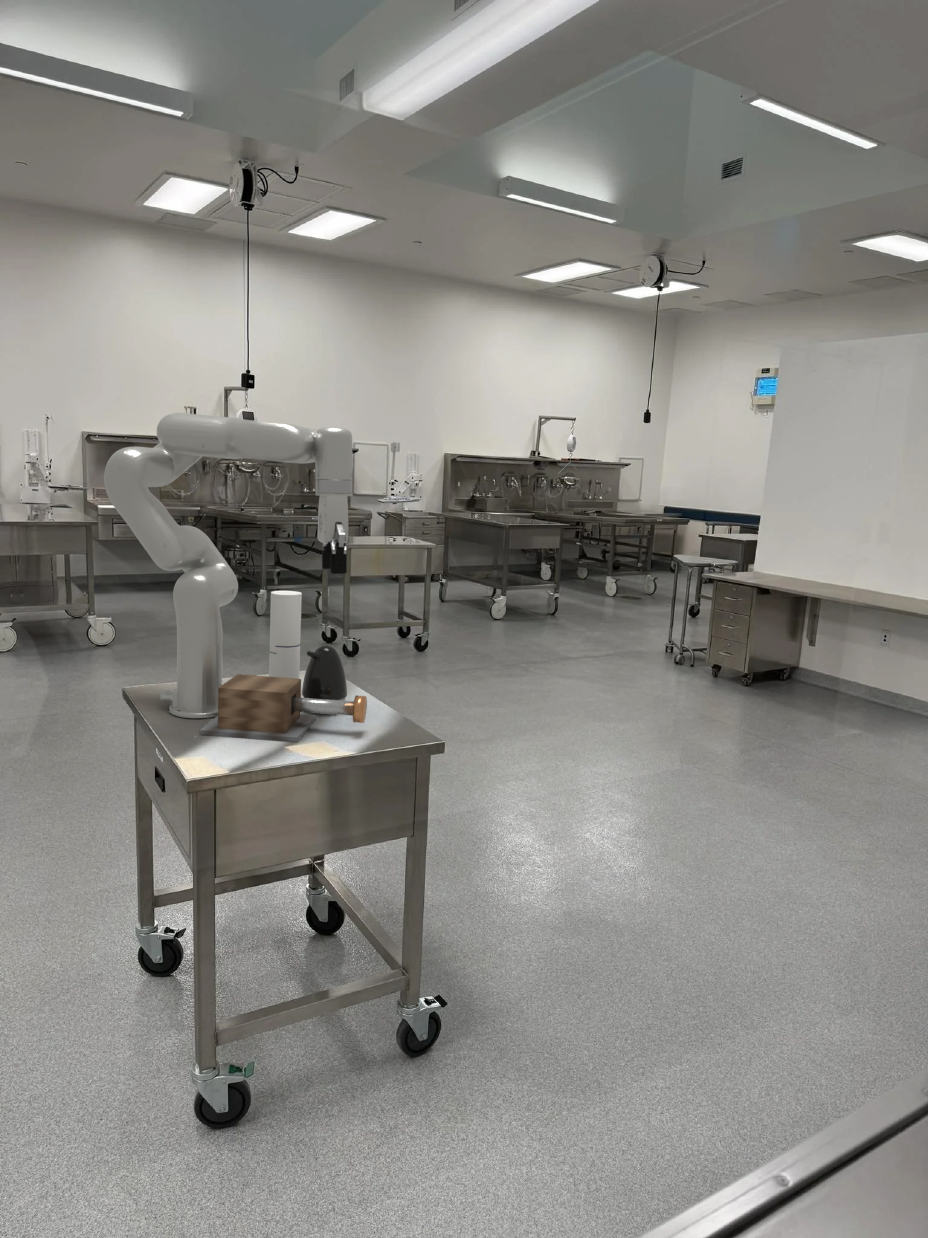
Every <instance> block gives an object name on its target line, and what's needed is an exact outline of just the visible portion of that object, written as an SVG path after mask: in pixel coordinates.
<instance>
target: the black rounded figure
mask: <svg viewBox="0 0 928 1238" xmlns="http://www.w3.org/2000/svg"><path fill="white" fill-rule="evenodd" d="M306 655H307V656H308V657H310V659H309V661H308V664H307V667H306V669H305V674H304V678H303V682H302V686H301V697H302V696H303V697H302V698H314V699H328V700H341V701H346V698H347V696H348V684H347V676H346V671H345V668H344V664H343V661H342V659H341V656H340V654H339V652H338V650H337V648H335V647H334V646H333V645H329V644H324V645H322V644H321V645H319V646H318V647H317V648H316V649H315V650H314V651H312V650H307V652H306Z"/></svg>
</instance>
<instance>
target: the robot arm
mask: <svg viewBox="0 0 928 1238" xmlns="http://www.w3.org/2000/svg"><path fill="white" fill-rule="evenodd" d="M156 436H157V439H158V442H159V443H157V444H156V445H155V446H153V447H145V446H127V447H122V448H119V449H118V450H117V451H115V452H114V453H113V454H111V456H110V458H109V459H108V461H107V463H106V465H105V467H104V473H103V484H104V489H105V491H106V495H107V497H108V499H109V501H110V503H111V505H112V506H113V507H114V509H115V510H116V511H117V513H118V514H119V515H120V517H121V518H122V519H123V521H124V522H125V523H126V525H127V526H128V527H129V528H130V530H131V532H132V533H133V535H134V536H135V538H136V539H137V540H138V541H139V544H141V546H142V547H143V548H144V550H145V551H146V552H147V554H148V555H149V556H150V559H151V560H152V561H153V563H154V564H155V565H156V567H158V568H160V569H162V570H163V571H167V572H175V571H183V572H184V573H183V574H182V575H180V577H178V579H177V580H176V582H175V584H174V587H173V590H172V591H173V592H172V593H173V594H172V596H173V597H172V599H173V600H172V601H173V606H174V611H175V618H176V620H175V621H176V689H174V690H171V689H160V690H159V693H158V696H159V699H160V700H161V701H170V702H171V704H170V705H169V708H168V709H169V713H170V714H171V715H173V716H176V717H180V718H186V719H209V718H215V717H217V716H218V688H219V687H220V686H222V685H223V656H224V655H223V648H224V647H223V646H224V645H223V644H224V643H223V641H224V638H223V637H224V635H223V630H224V629H223V621H222V617H221V614H220V613H221V611H220V608H221V607H224V606H226V605H228V604H230V603H232V601H234V599H235V598H236V596H237V595H238V592H239V582H238V579H237V576H236V574H235V572H234V571H233V569H232V568H231V566H230V565H229V563H228V562H227V561H226V559H225V558H224V557H223V555H222V554H221V553H220V551H219V550H218V548H217V547H216V546H215V543H213V541H212V540H211V539H210V537H209V536H208V535H207V534H206V533H205V532H203V530H202V529H199V528H198V527H195V526H193V525H179V523H177V521H176V520H175V519H174V517H173V516H172V515H171V513H170V512H169V511H168V510H167V507H166V506H165V505H164V504H163V503H162V502H161V501H160V499H158V498H157V497H156V496H155V495H154V494H153V493H152V492H151V491H150V489H149V488H160V487H165V486H168V485H170V484H171V483H173V482H175V480H177V479H178V478H179V477H181V476H182V475H183V474H184V473H185V472H186V471H189V469H190V468H191V467H193V466H194V465H195V464H196V463H197V462H199V460H200V459H202V458H204V457H208V458H216V459H217V458H218V459H226V460H227V459H228V460H238V459H250V460H259V461H269V462H270V461H271V462H278V463H288V464H289V463H291V464H302V465H303V464H304V465H305V464H312V463H315V465H314V466H315V467H314V468H315V471H314V472H315V496H317V497H318V496H319V499H318V509H317V510H318V513H317V540H318V541H319V542H320V543H322V550H321V552H322V553H321V565H322V569H325V570H326V569H329V570H330V574H332V575H336V574H337V575H338V574H339V575H342V574H347V570H348V569H347V565H348V564H347V542H348V540H349V505H348V504H349V503H348V502H349V501H348V500H349V499H348V497H353V435H352V432H351V430H349V429H347V428H343V427H320V428H318V429H315V428H308V427H304V426H299V425H296V424H288V423H277V422H267V421H266V422H265V421H256V420H247V419H241V418H237V417H229V416H220V415H219V416H218V415H207V414H197V413H185V412H174V413H173V412H172V413H169V414H167V415H164V416H163V417H162V418H161V419H160V421H159V422H158V424H157V427H156Z"/></svg>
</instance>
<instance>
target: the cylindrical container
mask: <svg viewBox="0 0 928 1238" xmlns="http://www.w3.org/2000/svg"><path fill="white" fill-rule="evenodd" d="M302 595H303V593H302V592H300V591H297V590H273V591H270V613H269V615H270V616H269V617H270V618H269V619H270V620H269V621H270V623H269V661H268V663H269V664H268V667H269V668H268V677H282V678H296V679H300V666H301V664H300V663H301V662H300V661H301V636H302V635H301V632H302V629H301V627H302V625H301V624H302V601H303V600H302V599H303V598H302Z"/></svg>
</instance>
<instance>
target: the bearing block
mask: <svg viewBox="0 0 928 1238" xmlns="http://www.w3.org/2000/svg"><path fill="white" fill-rule="evenodd" d="M291 697H301V698H302V679H301V678H299V679H296V678H282V677H269V675H268V676H266V675H256V674H255V675H253V674H239V673H237V674H236V675H234V676H233V677H232V678H230V679H229V680H227V681H226V682H224V683H222V686H220V687H219V688H218V716H216V717H213V719H212V720H210V721H208V722H207V723H206V724H205V725H204V726H202V727H201V728H200V729H199V736H211V737H223V738H237V739H251V740H260V741H261V740H263V741H275V742H286V743H287V742H288V743H289V742H290V743H291V742H292V743H298V742H299V741H300V740H301V739H302V738H303V736H304V735H305V734H306V732H307V731H308V730H309V729H310V728H311V726H312V725H313V724H314V722H315V721H316V720H317V719H316V718H317V715H315V714H301V712H295V711H291Z"/></svg>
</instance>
